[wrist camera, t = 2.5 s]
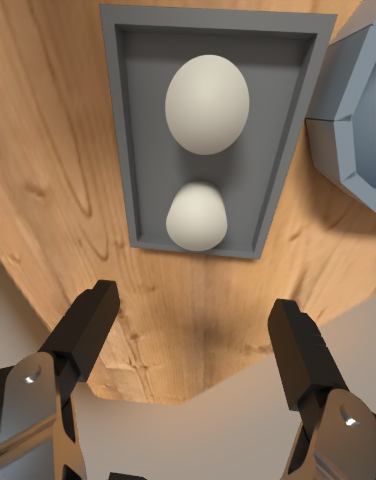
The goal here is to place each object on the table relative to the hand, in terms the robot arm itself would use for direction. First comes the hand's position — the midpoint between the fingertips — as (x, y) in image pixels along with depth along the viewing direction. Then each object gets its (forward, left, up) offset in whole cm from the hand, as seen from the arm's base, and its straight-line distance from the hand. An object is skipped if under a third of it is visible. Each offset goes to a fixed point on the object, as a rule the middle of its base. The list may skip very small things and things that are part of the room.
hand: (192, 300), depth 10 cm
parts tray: (0, +4, -13) cm, 14 cm away
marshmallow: (0, +8, -12) cm, 15 cm away
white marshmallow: (0, 0, -12) cm, 12 cm away
